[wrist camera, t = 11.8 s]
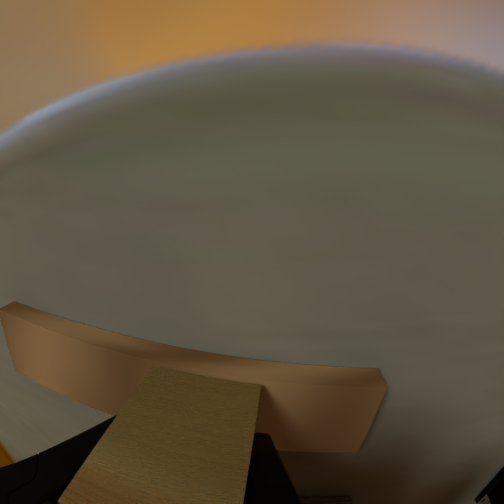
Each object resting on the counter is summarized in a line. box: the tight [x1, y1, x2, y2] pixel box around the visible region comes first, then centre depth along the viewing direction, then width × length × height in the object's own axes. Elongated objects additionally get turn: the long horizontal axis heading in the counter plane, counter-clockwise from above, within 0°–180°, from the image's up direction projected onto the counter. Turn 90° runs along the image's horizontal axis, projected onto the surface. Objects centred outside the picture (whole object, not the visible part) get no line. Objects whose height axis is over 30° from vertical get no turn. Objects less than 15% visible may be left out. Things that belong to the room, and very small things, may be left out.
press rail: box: [0, 301, 387, 453], centre depth 9 cm, size 14×3×1 cm, turn 84°
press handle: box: [57, 365, 261, 504], centre depth 5 cm, size 3×3×5 cm
